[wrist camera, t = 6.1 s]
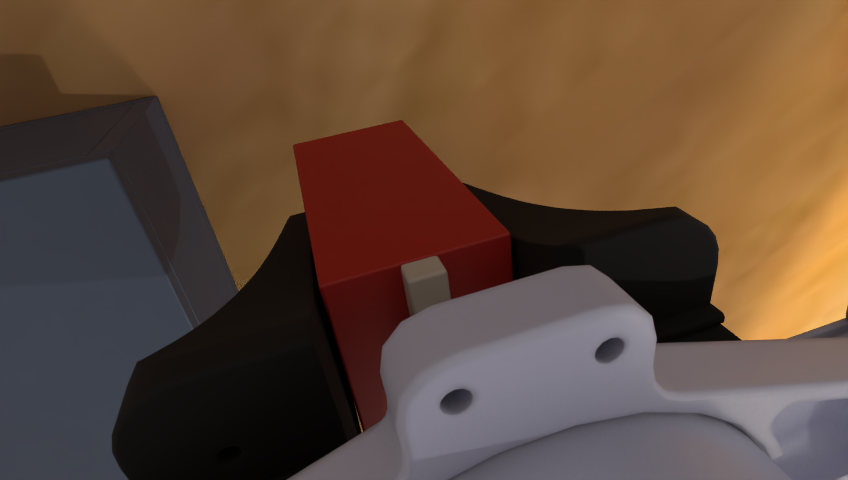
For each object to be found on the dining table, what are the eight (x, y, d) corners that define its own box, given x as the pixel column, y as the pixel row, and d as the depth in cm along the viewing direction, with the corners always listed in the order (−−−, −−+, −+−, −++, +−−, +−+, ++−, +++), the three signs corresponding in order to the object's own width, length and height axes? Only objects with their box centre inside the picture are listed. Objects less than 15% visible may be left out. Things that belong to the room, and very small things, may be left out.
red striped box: (426, 260, 16) (535, 450, 10) (333, 286, 15) (384, 506, 9) (402, 119, 14) (526, 248, 7) (292, 144, 13) (321, 306, 7)
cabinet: (256, 334, 26) (255, 453, 20) (-54, 423, 23) (-169, 591, 17) (157, 94, 19) (108, 157, 13) (-286, 183, 17) (-603, 311, 11)
